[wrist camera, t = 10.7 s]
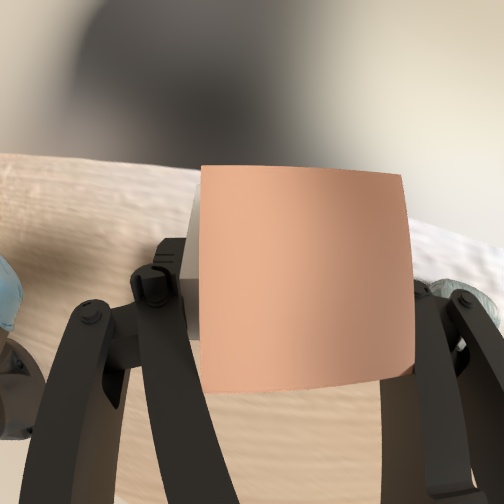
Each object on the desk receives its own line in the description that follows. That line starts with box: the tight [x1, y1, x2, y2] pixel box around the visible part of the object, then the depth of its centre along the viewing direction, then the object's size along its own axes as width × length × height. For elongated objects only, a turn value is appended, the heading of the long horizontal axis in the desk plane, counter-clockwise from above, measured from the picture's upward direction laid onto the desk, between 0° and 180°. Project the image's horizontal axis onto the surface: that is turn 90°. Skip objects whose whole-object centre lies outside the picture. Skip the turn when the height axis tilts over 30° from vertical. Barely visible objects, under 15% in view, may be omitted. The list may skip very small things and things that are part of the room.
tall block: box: [199, 165, 415, 393], centre depth 12 cm, size 5×5×11 cm
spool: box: [428, 279, 501, 350], centre depth 35 cm, size 14×10×10 cm
